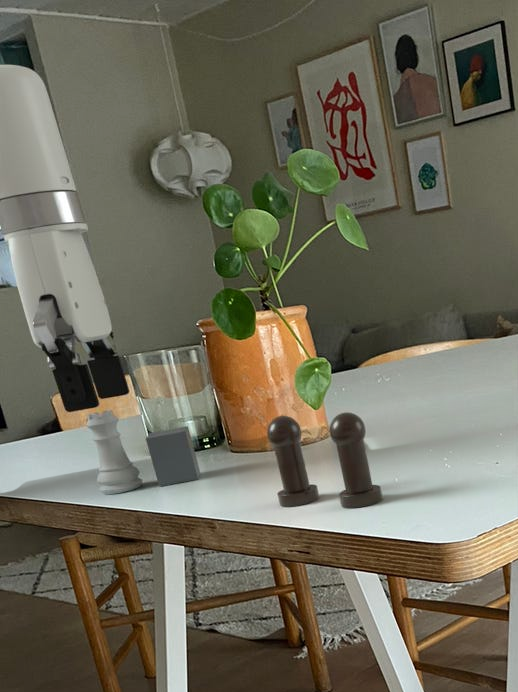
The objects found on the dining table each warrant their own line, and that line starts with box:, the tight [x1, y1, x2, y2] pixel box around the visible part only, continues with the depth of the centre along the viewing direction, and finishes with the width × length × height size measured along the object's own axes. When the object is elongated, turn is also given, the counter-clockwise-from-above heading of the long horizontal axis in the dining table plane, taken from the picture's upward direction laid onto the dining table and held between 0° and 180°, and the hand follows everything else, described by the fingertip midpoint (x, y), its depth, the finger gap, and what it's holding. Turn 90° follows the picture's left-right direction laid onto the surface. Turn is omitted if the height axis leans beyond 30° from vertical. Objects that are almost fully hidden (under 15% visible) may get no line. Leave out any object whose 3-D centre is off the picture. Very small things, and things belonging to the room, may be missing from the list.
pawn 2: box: [329, 411, 384, 509], centre depth 74 cm, size 3×3×7 cm
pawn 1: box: [266, 415, 320, 508], centre depth 78 cm, size 3×3×7 cm
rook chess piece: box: [85, 409, 143, 495], centre depth 96 cm, size 4×4×8 cm
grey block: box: [145, 425, 201, 487], centre depth 97 cm, size 4×4×5 cm
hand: (99, 402), depth 94 cm, fingers open, 9 cm apart
